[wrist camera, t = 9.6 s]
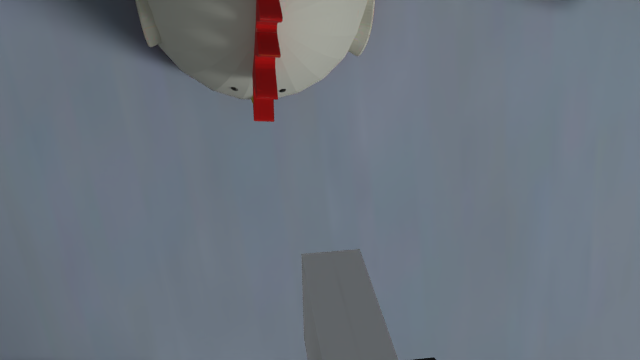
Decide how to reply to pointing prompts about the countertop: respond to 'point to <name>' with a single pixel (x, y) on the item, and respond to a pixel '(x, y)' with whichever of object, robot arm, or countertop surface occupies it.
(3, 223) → the countertop surface
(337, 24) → the kitchen timer
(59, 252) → the countertop surface
